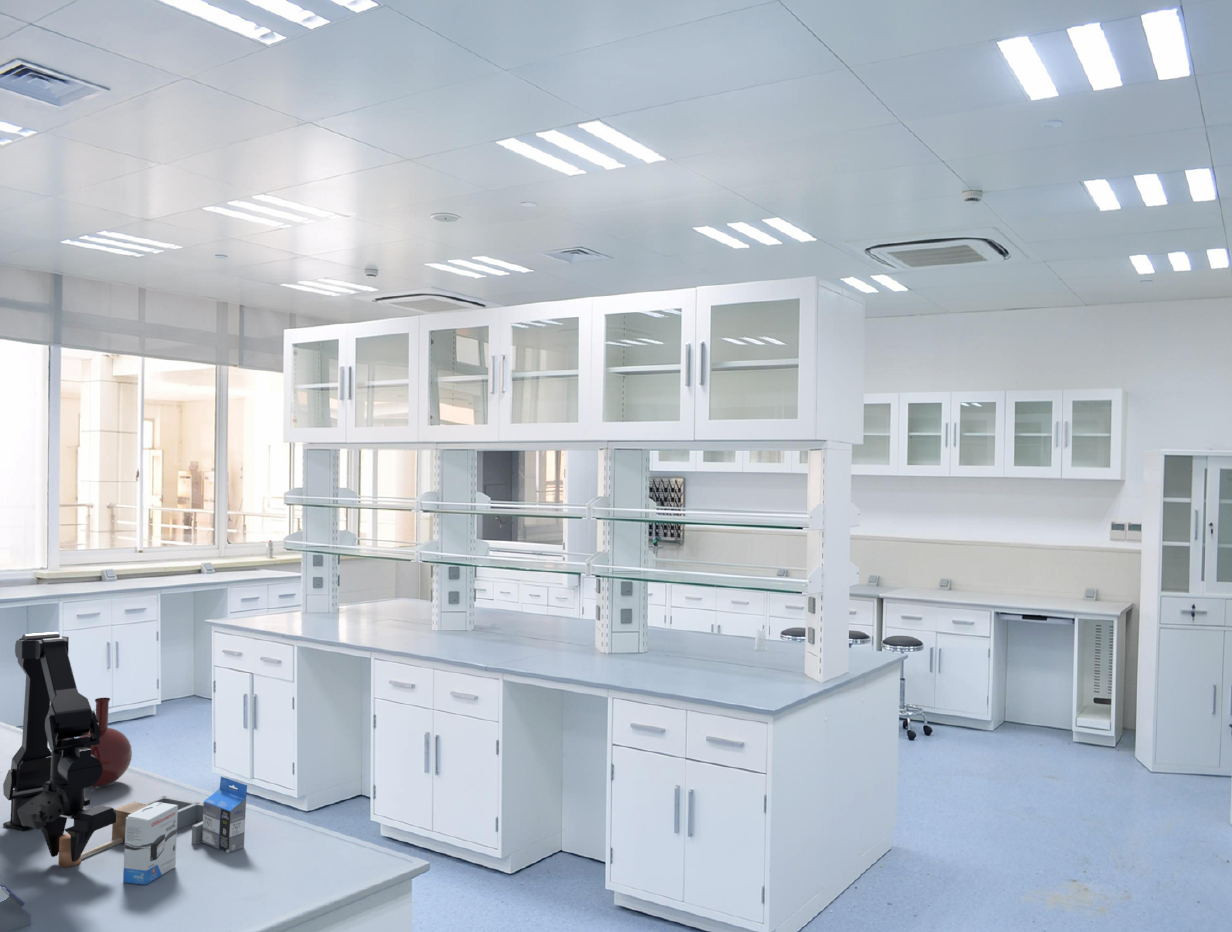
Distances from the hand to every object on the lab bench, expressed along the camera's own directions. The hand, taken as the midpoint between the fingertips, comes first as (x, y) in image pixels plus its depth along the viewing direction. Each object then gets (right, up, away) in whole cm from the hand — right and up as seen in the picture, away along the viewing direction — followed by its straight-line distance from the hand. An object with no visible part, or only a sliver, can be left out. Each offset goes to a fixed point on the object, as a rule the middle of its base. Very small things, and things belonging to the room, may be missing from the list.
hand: (64, 858), depth 174 cm
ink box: (+17, -2, -3) cm, 17 cm away
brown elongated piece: (+3, -1, +8) cm, 8 cm away
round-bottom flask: (-17, -1, +43) cm, 46 cm away
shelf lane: (+12, -2, +20) cm, 23 cm away
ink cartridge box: (+24, -3, +12) cm, 27 cm away
